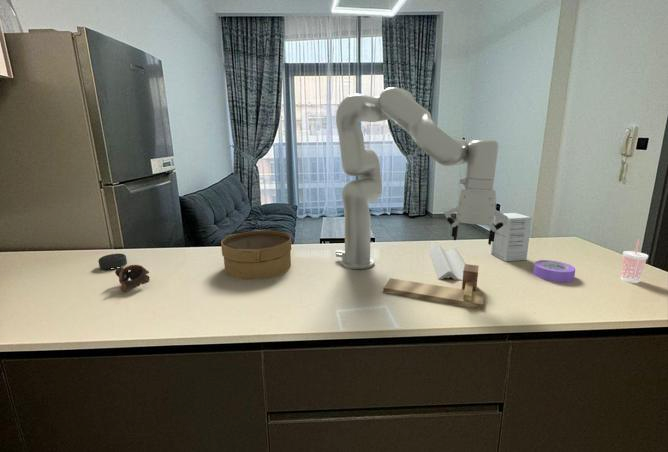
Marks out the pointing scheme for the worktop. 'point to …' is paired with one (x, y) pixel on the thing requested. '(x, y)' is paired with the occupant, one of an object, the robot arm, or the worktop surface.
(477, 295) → the oak board
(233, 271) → the steamer basket
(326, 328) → the worktop surface
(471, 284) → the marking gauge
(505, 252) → the supplement box
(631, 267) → the beverage cup
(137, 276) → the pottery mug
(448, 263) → the crown molding
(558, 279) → the masking tape
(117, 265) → the smart speaker
